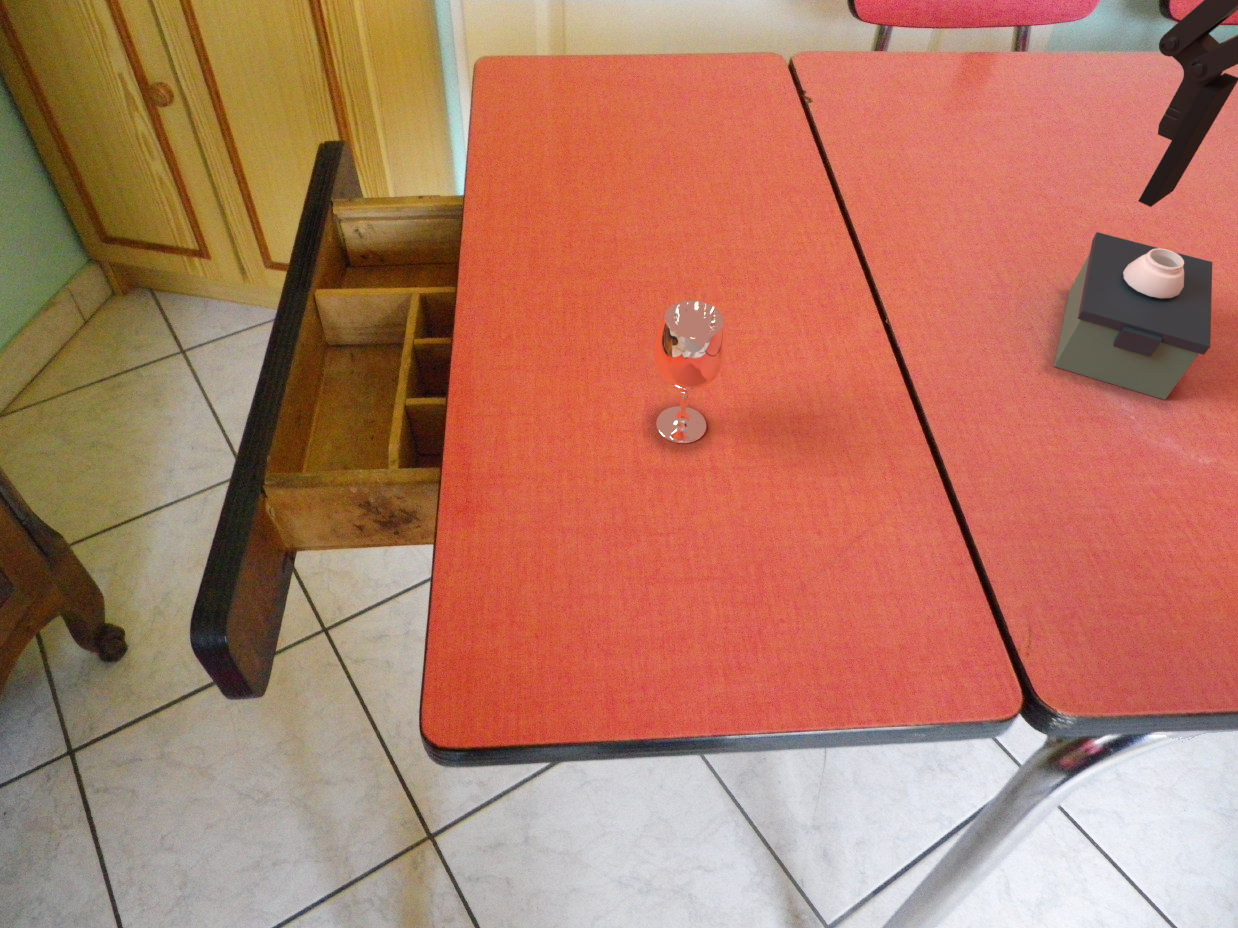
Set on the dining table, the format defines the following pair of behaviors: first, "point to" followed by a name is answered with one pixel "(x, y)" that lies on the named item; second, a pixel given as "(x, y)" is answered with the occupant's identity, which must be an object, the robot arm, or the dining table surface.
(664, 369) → the wineglass
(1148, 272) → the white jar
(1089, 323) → the box
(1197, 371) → the dining table surface
